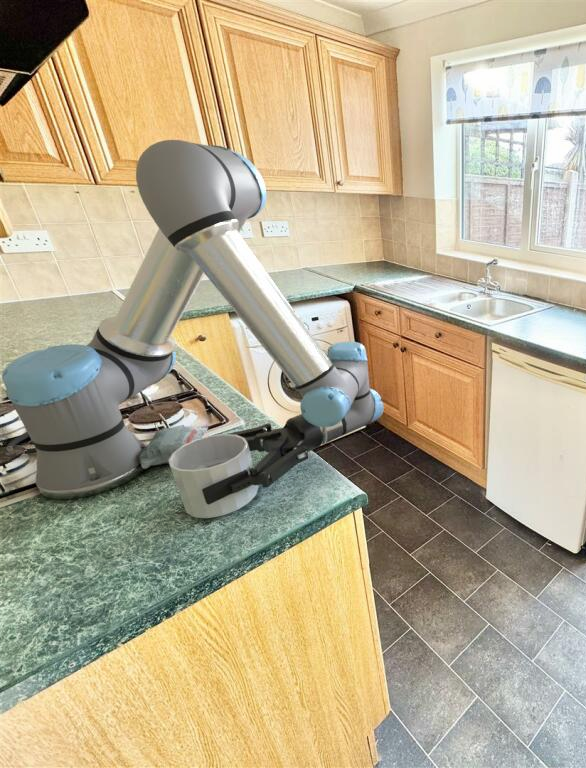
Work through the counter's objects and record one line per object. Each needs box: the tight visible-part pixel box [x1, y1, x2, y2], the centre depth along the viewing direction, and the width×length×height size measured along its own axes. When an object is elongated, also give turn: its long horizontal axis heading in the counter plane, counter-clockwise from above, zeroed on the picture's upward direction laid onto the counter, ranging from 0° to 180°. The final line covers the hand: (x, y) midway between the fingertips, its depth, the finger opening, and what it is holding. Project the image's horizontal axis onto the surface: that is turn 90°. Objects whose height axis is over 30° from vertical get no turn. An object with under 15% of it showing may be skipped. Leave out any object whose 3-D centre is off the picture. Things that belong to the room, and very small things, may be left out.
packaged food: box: [139, 424, 209, 470], centre depth 83 cm, size 9×12×5 cm
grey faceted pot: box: [168, 433, 260, 519], centre depth 72 cm, size 11×11×10 cm
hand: (188, 482), depth 68 cm, fingers closed on grey faceted pot, 11 cm apart
